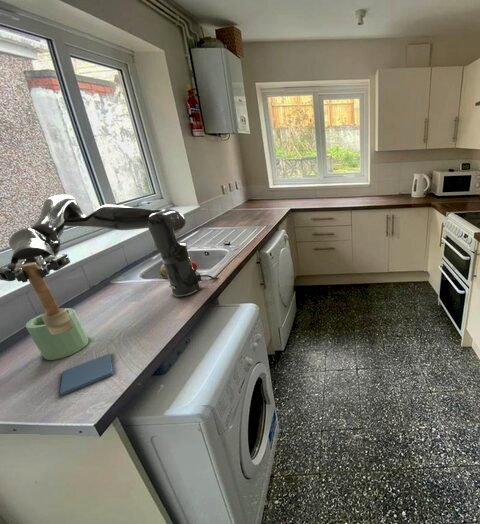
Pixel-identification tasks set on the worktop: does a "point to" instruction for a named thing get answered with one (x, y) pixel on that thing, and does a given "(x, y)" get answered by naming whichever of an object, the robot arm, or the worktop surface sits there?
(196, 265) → the strawberry
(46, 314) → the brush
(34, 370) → the worktop surface
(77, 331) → the green pot
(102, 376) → the mat
